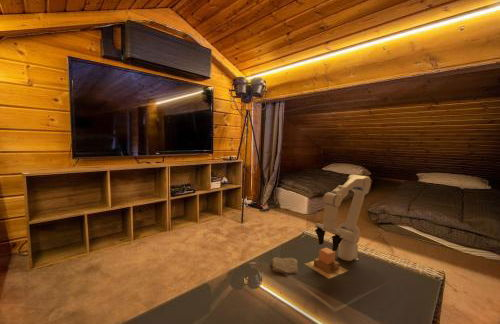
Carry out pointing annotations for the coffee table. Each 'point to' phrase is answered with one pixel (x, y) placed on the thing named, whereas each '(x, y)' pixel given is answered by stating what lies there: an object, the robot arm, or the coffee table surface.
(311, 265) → the plate
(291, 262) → the stone block
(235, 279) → the coffee table surface
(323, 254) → the terracotta cube
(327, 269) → the walnut slab
